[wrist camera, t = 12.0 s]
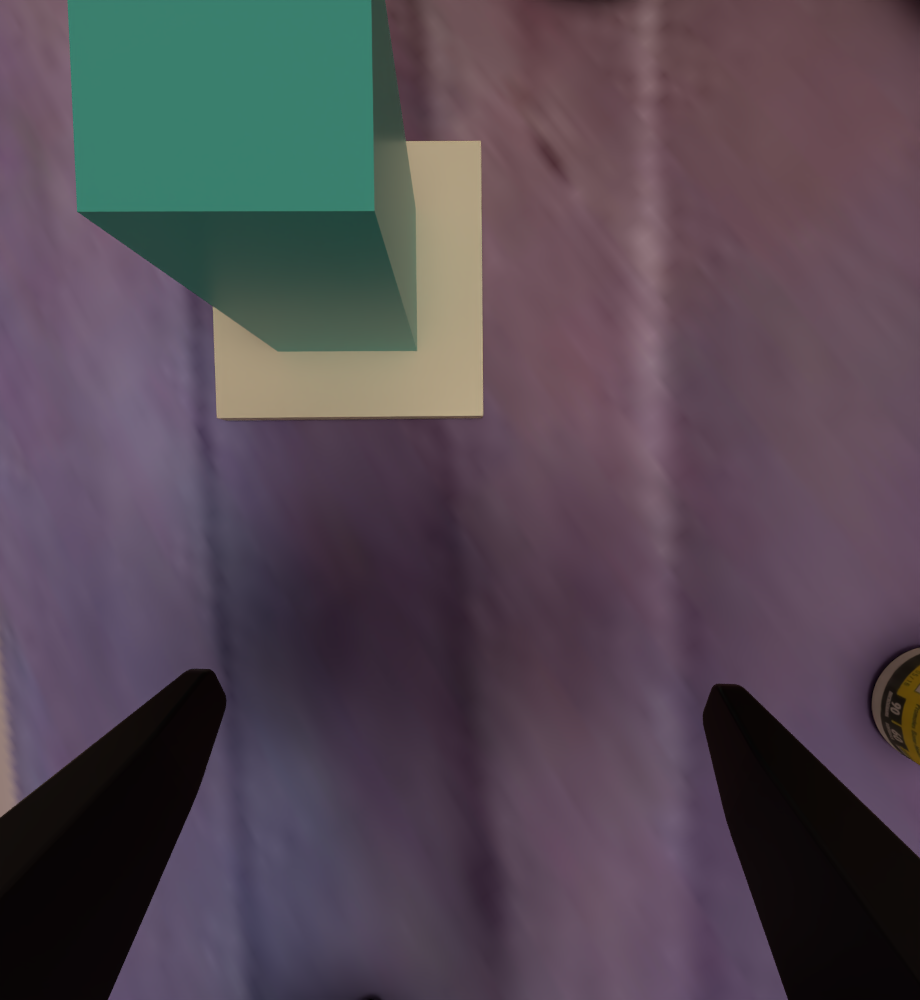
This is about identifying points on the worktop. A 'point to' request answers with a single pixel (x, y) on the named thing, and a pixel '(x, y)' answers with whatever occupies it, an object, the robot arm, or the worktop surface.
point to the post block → (385, 374)
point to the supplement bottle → (900, 704)
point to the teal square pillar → (253, 160)
